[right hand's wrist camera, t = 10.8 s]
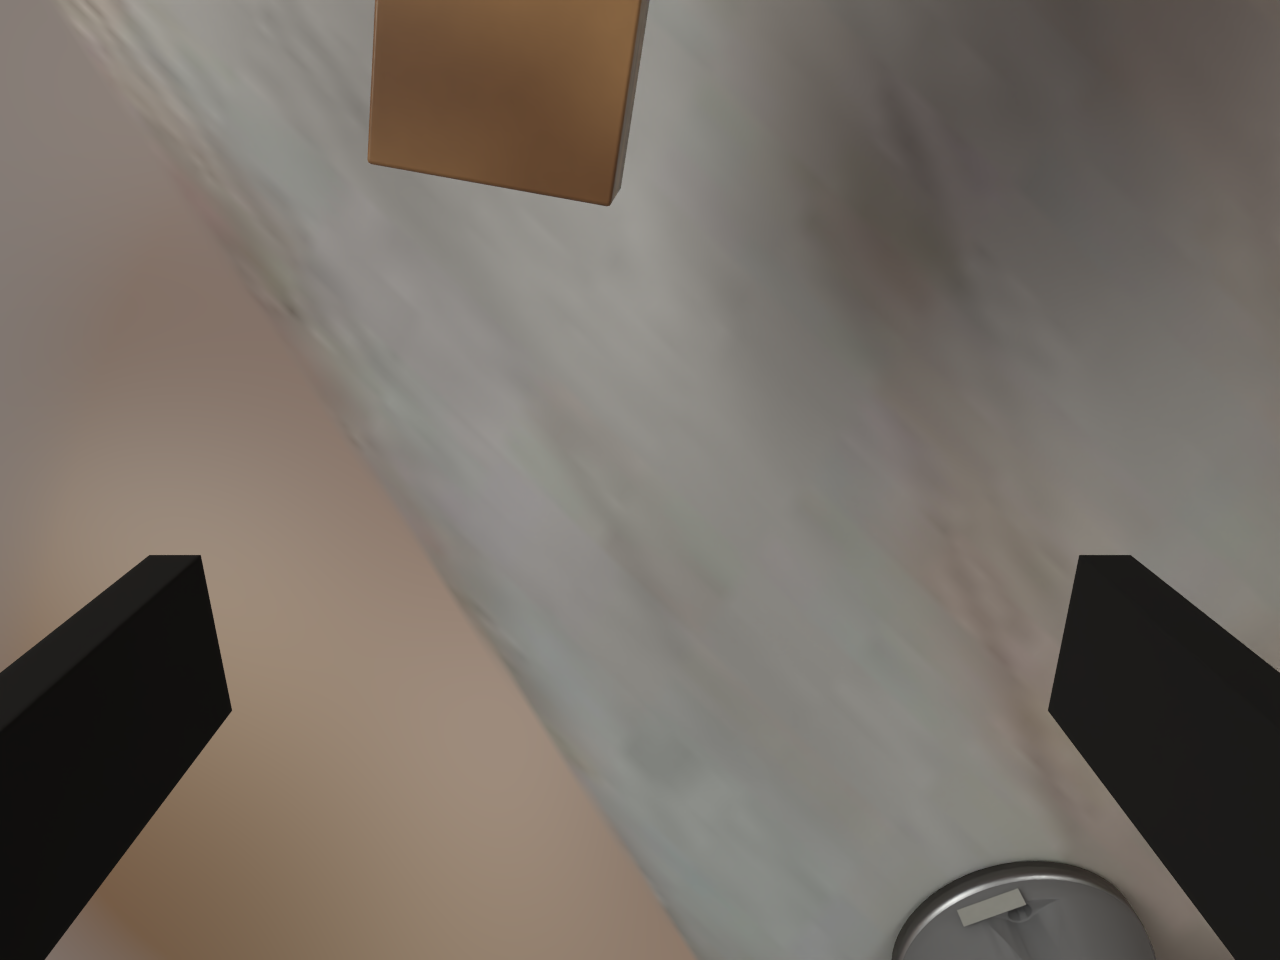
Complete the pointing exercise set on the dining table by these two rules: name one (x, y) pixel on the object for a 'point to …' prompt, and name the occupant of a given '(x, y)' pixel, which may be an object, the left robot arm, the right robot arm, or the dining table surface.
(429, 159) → the bar
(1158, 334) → the dining table surface
